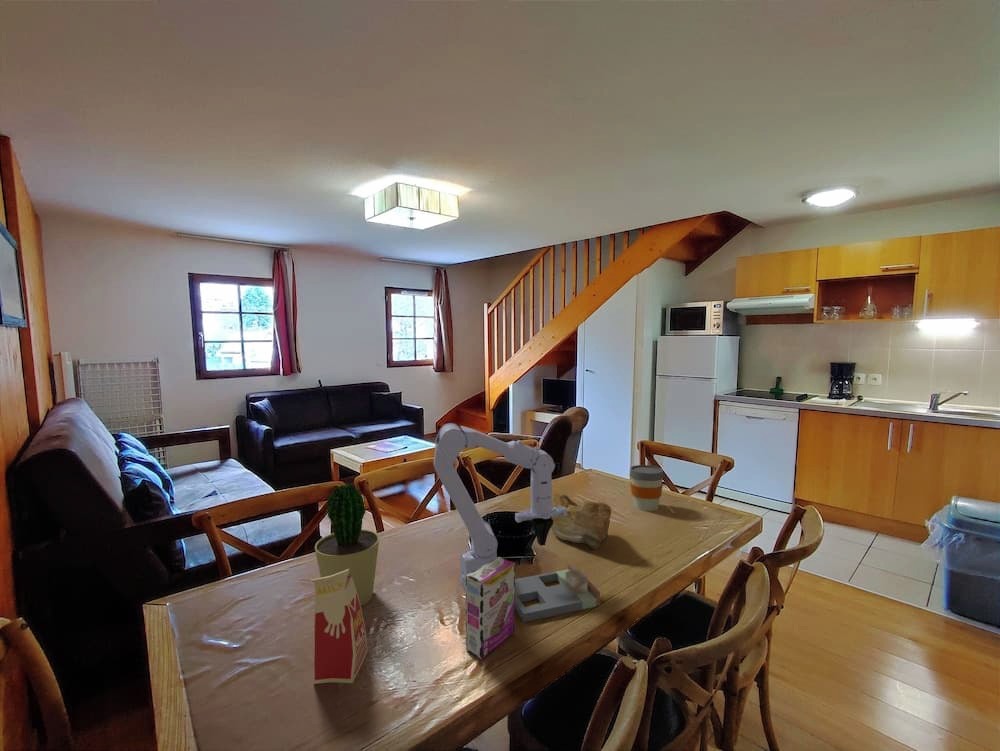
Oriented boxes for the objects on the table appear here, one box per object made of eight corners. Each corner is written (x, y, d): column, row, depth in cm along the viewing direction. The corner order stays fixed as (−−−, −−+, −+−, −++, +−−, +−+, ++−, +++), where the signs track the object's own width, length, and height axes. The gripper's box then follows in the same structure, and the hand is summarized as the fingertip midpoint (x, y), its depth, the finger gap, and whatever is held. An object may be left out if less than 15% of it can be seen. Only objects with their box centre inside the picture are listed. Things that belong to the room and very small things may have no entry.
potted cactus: (377, 577, 123) (374, 470, 121) (384, 607, 109) (380, 487, 107) (317, 588, 117) (313, 477, 115) (316, 622, 103) (311, 495, 101)
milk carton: (367, 650, 94) (364, 558, 92) (355, 683, 84) (351, 581, 83) (323, 651, 93) (320, 559, 92) (306, 685, 84) (302, 583, 83)
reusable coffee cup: (623, 503, 178) (623, 466, 177) (649, 499, 182) (650, 463, 181) (641, 514, 166) (642, 475, 165) (670, 510, 170) (670, 471, 169)
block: (573, 595, 110) (573, 579, 109) (565, 587, 113) (565, 571, 113) (587, 592, 111) (587, 576, 111) (579, 584, 115) (579, 569, 114)
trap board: (523, 622, 102) (523, 607, 102) (502, 588, 117) (502, 575, 116) (599, 605, 109) (599, 591, 108) (571, 575, 123) (571, 563, 123)
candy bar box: (482, 661, 90) (481, 583, 89) (464, 651, 93) (463, 575, 92) (516, 633, 98) (515, 561, 97) (498, 624, 102) (498, 555, 100)
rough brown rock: (633, 547, 141) (634, 500, 142) (599, 558, 131) (600, 507, 131) (577, 526, 160) (579, 485, 160) (544, 535, 150) (546, 490, 150)
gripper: (521, 503, 115) (521, 554, 115) (572, 496, 119) (572, 546, 120) (512, 494, 121) (512, 543, 122) (560, 488, 126) (560, 535, 127)
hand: (541, 543), depth 122 cm, fingers closed
